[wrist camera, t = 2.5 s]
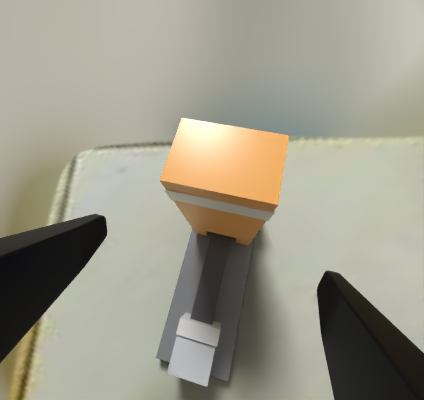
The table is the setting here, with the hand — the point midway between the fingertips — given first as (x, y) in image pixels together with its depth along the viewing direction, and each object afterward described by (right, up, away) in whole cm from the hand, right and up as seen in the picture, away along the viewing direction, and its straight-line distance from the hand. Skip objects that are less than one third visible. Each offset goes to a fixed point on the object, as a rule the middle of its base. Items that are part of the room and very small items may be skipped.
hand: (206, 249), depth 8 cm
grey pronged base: (+1, -4, +10) cm, 11 cm away
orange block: (+1, 0, +10) cm, 10 cm away
